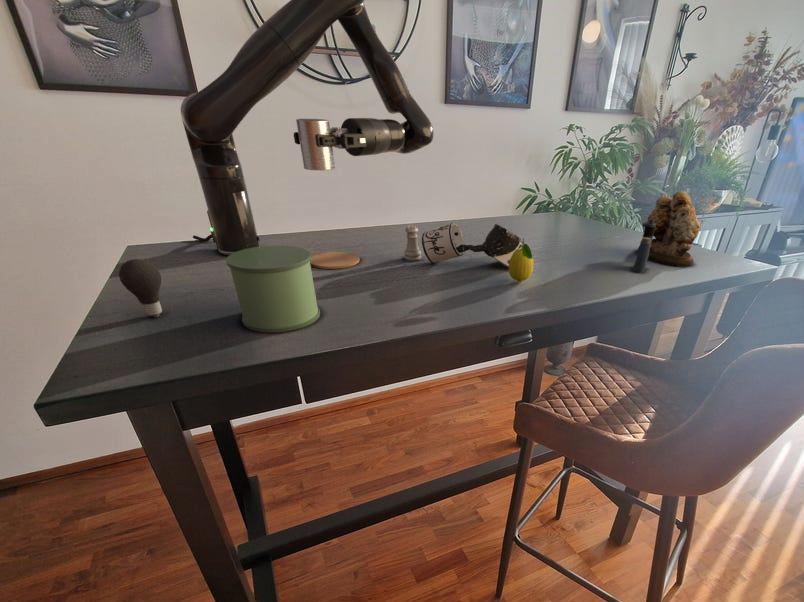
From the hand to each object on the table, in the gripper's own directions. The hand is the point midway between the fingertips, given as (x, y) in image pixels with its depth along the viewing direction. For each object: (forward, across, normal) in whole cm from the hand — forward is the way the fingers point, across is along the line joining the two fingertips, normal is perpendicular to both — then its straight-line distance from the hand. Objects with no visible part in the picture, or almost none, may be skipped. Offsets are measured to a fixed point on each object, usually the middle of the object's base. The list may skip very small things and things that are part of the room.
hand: (306, 139), depth 90 cm
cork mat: (-3, -1, +26) cm, 26 cm away
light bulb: (+38, +1, +26) cm, 46 cm away
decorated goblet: (-24, +26, +26) cm, 44 cm away
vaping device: (-49, +60, +27) cm, 82 cm away
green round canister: (+24, +18, +26) cm, 40 cm away
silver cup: (-2, 0, +6) cm, 6 cm away
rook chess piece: (-18, +12, +26) cm, 34 cm away
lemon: (-20, +42, +26) cm, 53 cm away
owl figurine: (-65, +62, +27) cm, 94 cm away
